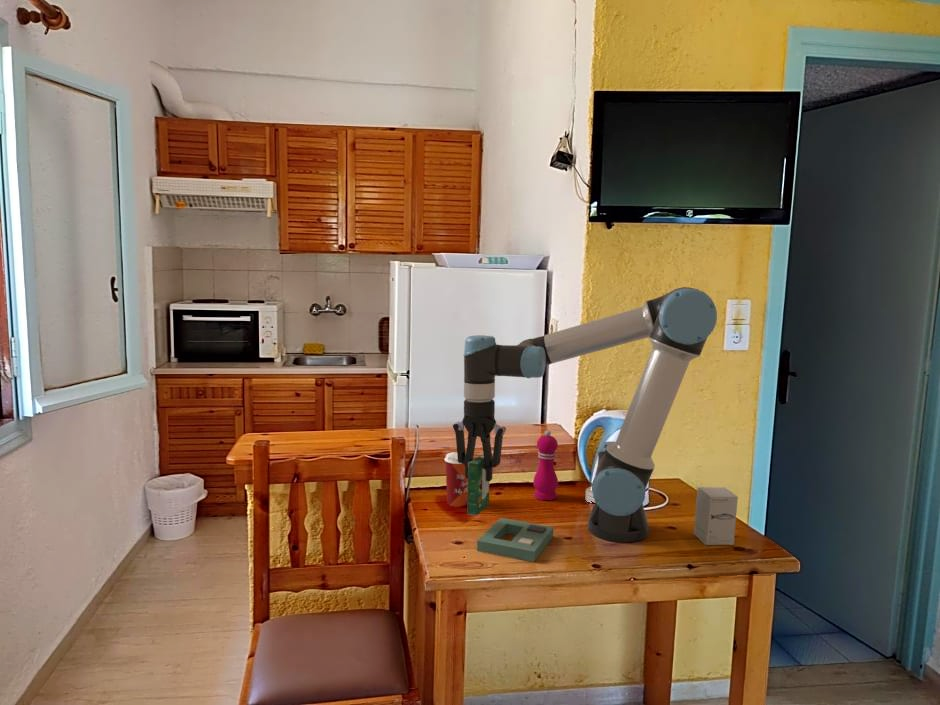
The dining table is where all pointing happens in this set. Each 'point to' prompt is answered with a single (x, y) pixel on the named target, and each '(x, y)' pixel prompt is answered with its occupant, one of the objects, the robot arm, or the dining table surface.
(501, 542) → the socket board
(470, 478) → the coffee box
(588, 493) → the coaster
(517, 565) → the dining table surface
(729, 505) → the supplement box
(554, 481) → the pepper mill
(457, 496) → the paper cup
